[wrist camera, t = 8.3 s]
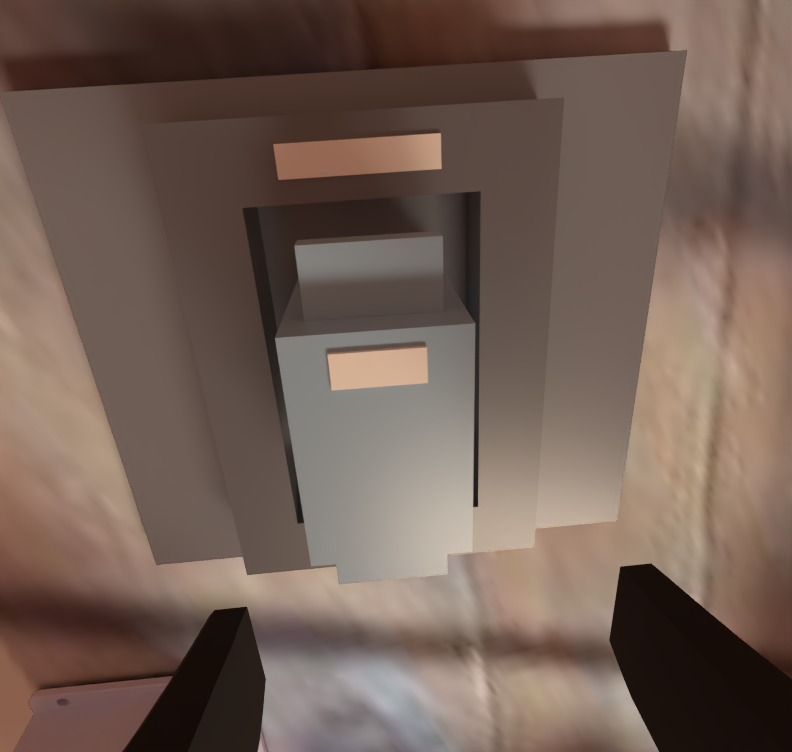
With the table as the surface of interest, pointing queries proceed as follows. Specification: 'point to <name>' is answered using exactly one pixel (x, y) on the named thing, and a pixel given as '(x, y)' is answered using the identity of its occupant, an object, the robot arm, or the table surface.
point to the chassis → (345, 217)
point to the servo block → (380, 405)
